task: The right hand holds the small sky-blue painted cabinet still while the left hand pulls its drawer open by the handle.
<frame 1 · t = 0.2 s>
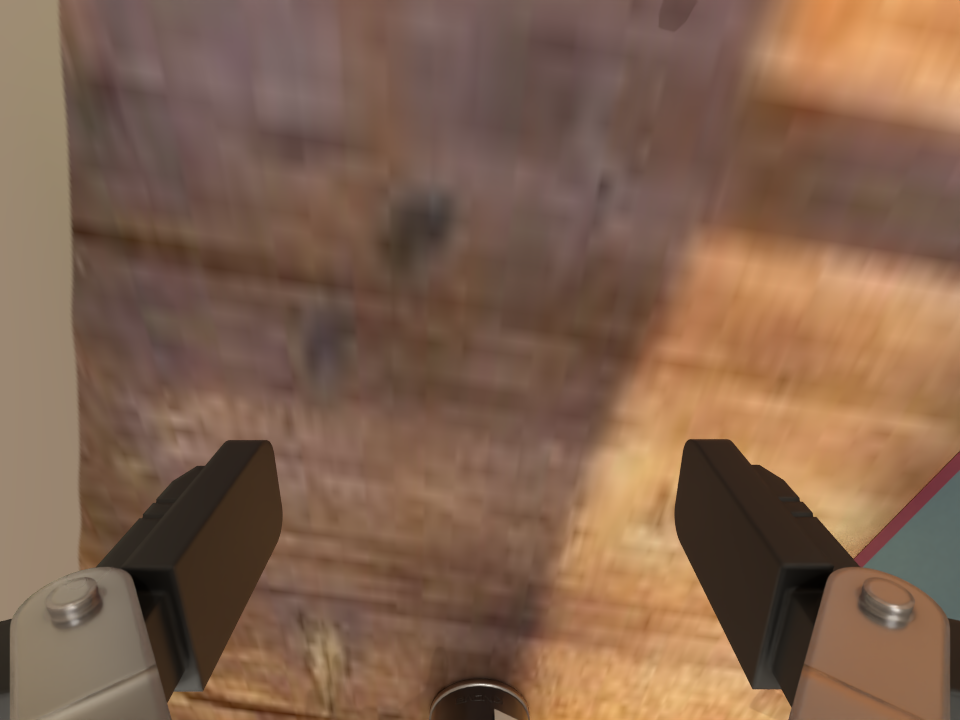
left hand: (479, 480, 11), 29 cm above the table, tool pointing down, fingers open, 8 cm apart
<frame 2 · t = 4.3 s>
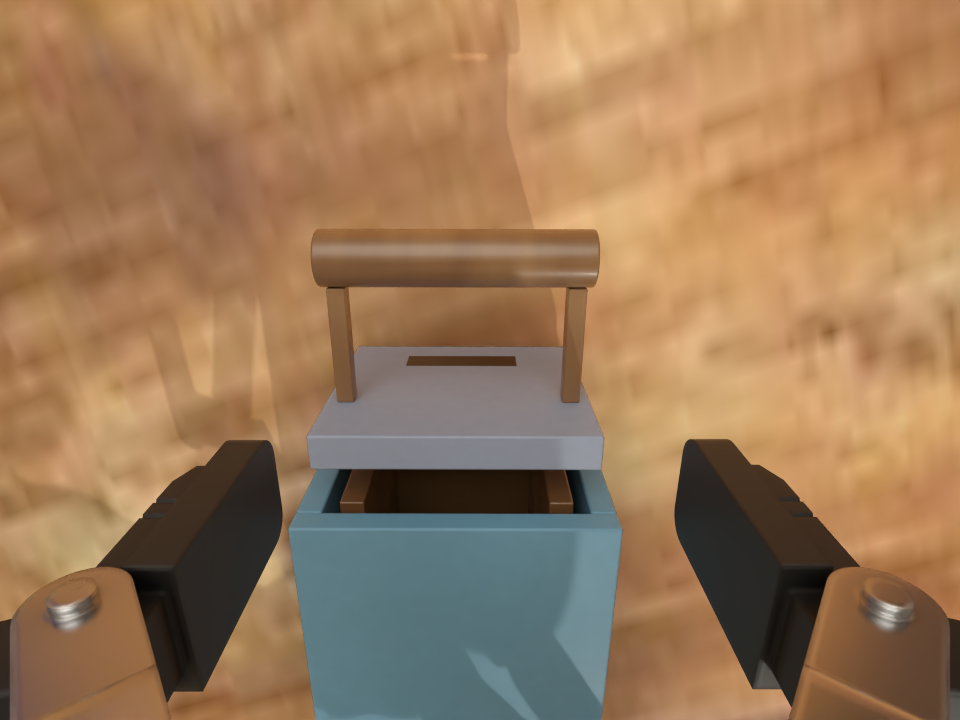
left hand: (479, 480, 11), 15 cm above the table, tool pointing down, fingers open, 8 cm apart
cabinet: (465, 568, 31), on the table, touching right hand
drawer: (461, 533, 24), point 5 cm above the table, slide at 1.5 cm
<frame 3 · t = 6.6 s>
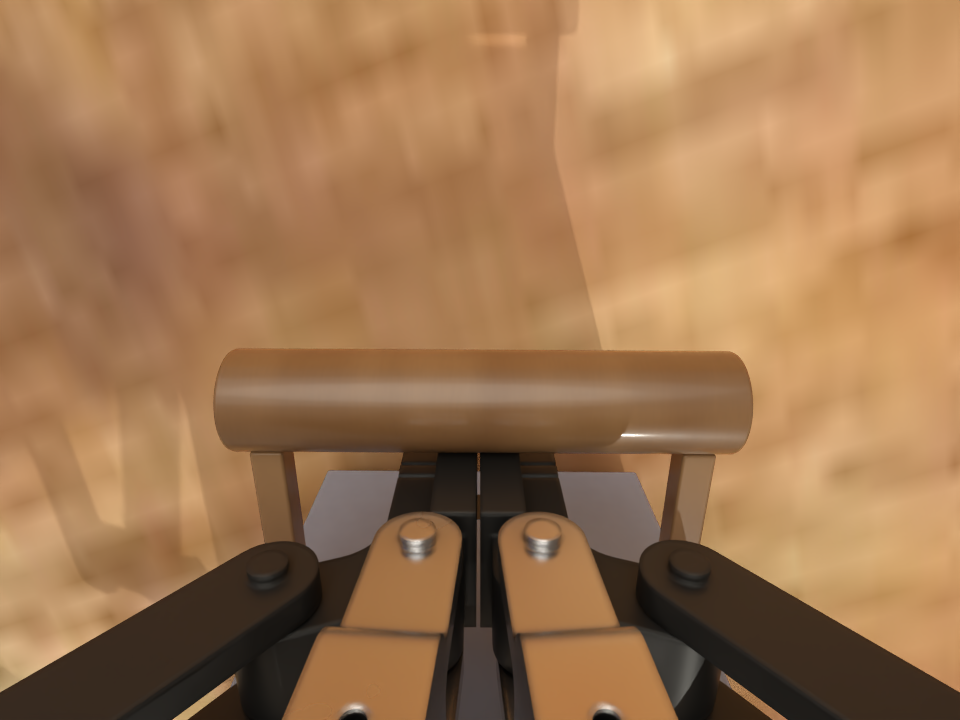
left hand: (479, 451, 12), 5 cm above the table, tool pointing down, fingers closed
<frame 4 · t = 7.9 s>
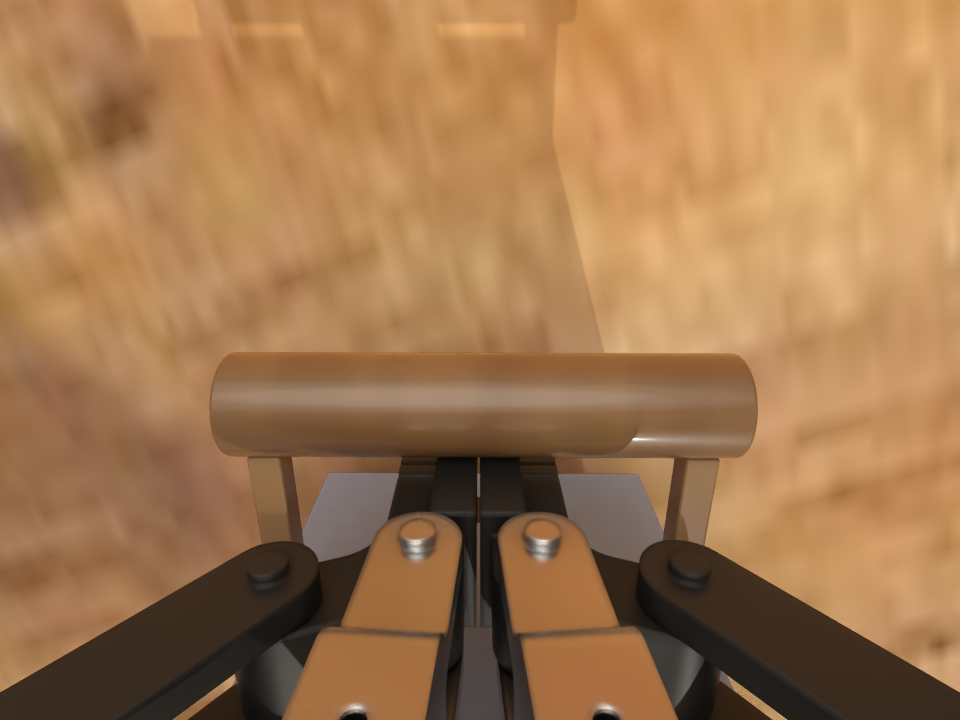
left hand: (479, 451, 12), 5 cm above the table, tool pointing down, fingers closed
when the right hand's fingers open (5 cm above the table, at t = 9.6 s): cabinet stays where it is, on the table.
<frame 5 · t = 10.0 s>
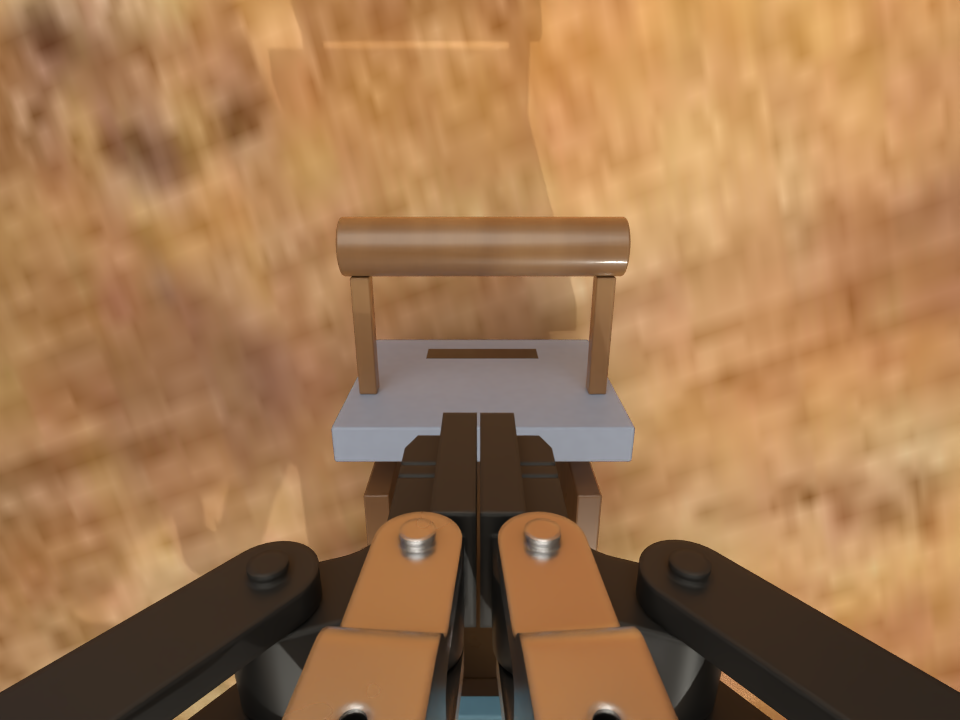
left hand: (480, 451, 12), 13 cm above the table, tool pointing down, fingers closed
cabinet: (481, 680, 33), on the table
drawer: (482, 528, 23), point 5 cm above the table, slide at 9.7 cm
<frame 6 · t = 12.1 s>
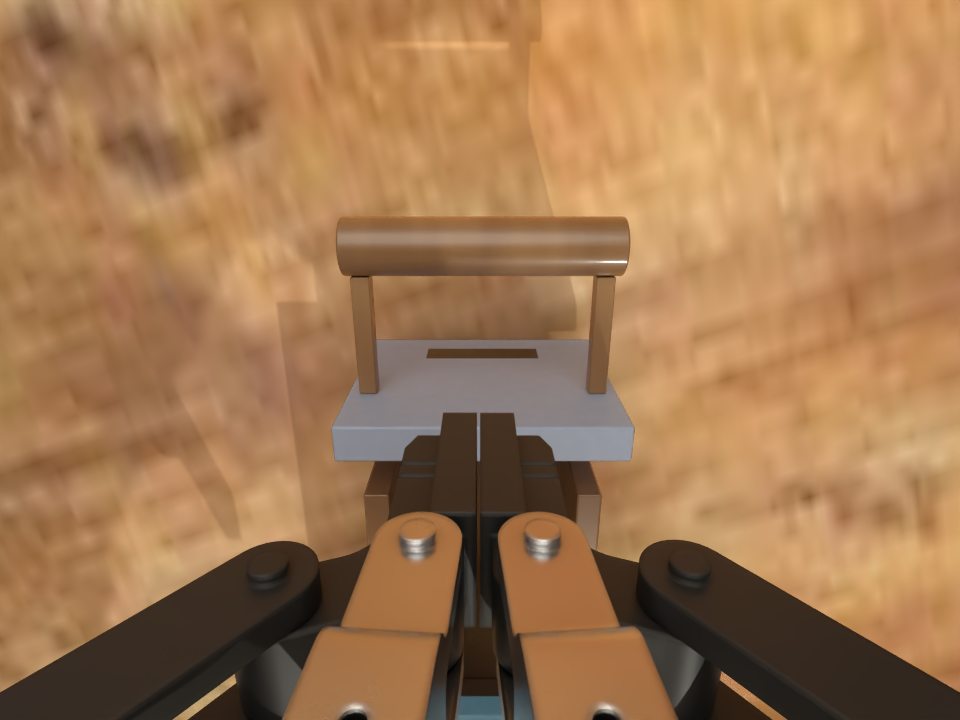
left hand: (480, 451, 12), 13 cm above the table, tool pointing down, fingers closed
cabinet: (481, 680, 33), on the table
drawer: (482, 528, 23), point 5 cm above the table, slide at 9.7 cm
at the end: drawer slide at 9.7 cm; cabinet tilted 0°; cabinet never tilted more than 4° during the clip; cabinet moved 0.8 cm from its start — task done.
